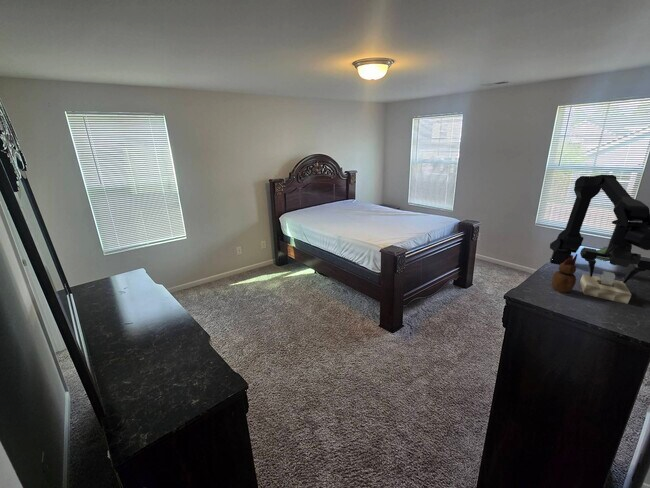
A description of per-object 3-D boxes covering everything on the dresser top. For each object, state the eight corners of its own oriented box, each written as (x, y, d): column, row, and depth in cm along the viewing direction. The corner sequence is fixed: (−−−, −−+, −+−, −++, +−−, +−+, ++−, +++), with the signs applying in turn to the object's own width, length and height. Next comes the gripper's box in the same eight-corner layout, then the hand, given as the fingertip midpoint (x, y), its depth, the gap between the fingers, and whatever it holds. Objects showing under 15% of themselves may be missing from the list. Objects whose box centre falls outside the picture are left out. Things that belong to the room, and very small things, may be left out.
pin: (597, 293, 112) (604, 274, 110) (596, 290, 115) (603, 271, 112) (607, 295, 111) (615, 276, 108) (606, 292, 113) (613, 273, 111)
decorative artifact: (618, 258, 146) (591, 253, 151) (623, 244, 144) (596, 240, 149) (622, 264, 138) (593, 259, 144) (627, 250, 136) (598, 245, 141)
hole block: (583, 294, 111) (586, 285, 110) (579, 282, 121) (582, 273, 119) (627, 304, 105) (631, 294, 104) (619, 290, 114) (623, 281, 113)
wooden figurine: (567, 288, 116) (579, 252, 110) (573, 295, 110) (586, 258, 105) (547, 285, 118) (558, 250, 112) (552, 292, 112) (563, 255, 107)
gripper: (590, 240, 104) (577, 281, 109) (667, 252, 94) (648, 296, 100) (586, 232, 113) (574, 270, 118) (656, 242, 103) (639, 283, 109)
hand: (606, 279), depth 111 cm, fingers open, 9 cm apart
